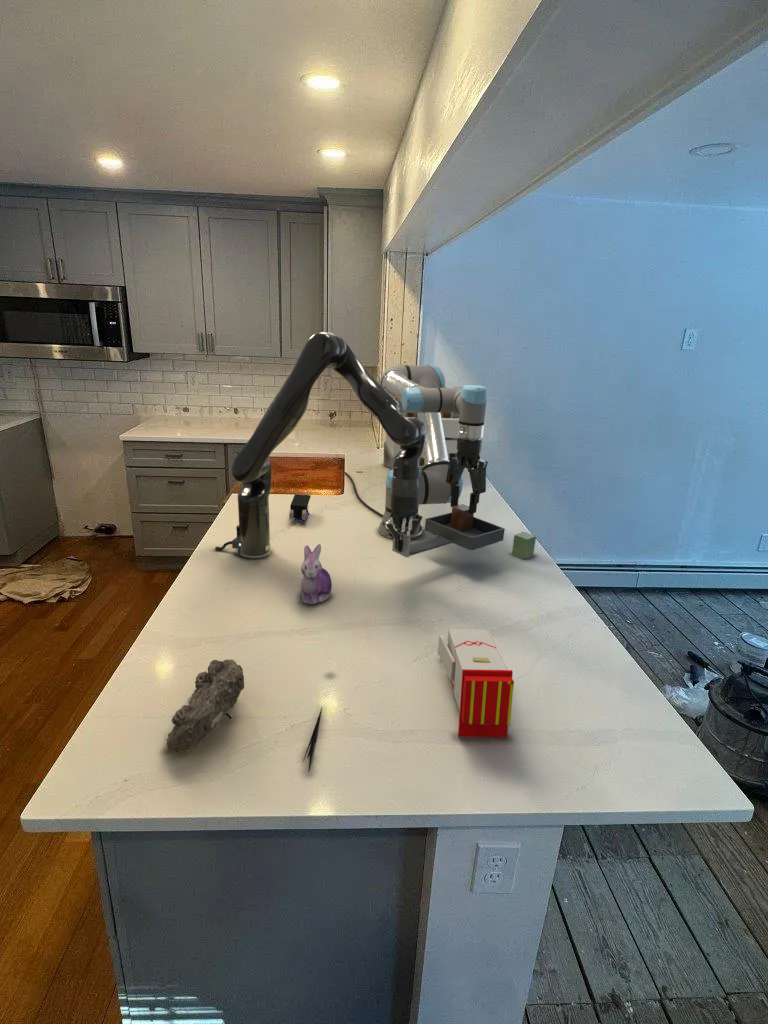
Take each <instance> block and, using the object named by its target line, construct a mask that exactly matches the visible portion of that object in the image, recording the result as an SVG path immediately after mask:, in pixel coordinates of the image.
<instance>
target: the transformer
mask: <svg viewBox="0 0 768 1024" xmlns="http://www.w3.org/2000/svg"><path fill="white" fill-rule="evenodd" d="M445 388H448V387H447V386H445ZM394 399H395V400H396V401H397V402H398V403H399V406H400V409H399V412H400V413H401V414H402V415H403V417H404V418H405V419H406V418H409V417H417V413H412V412H405V411H404V409H403V407H402V401H400V400H399V399H397V398H394ZM440 414H441V420H442V425H443V431H444V437H445V443H446V449H447V455H448V460H449V454H450V453H454V452H456V453H457V451H458V450H457V439H458V438H459V436H458V427H459V415H460V414H459V413H440ZM399 450H400V446H398V445H397V444H395V443H394V442H393V441H392V440H391V439H390V438H389V436H388V435H387V433H386V432H385V438H384V442H383V466H384V467H388V468H389V471H390V470H392V469H393V463H394V458H395V456H396V455H397V454H398V452H399ZM449 461H450V460H449ZM457 463H458V460H457ZM424 464H425V463H424V456H423V451H422V455H421V458H420V467H423V465H424ZM456 468H457V467H456Z"/></svg>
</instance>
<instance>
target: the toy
mask: <svg viewBox="0 0 768 1024" xmlns="http://www.w3.org/2000/svg"><path fill="white" fill-rule="evenodd" d="M446 640H447V643H446V641H445V639H444V636H443V635H442V634H439V637H438V646H437V656H438V657H439V659H440V661H441V663H442V666H443V668H444V670H445V672H446V674H447V677H448V679H449V681H450V684H451V687H452V690H453V693H454V697H455V701H456V705H457V708H458V711H459V714H458V715H459V716H458V730H457V731H458V732H457V737H458V738H508V731H509V726H510V725H511V717H512V707H513V697H514V696H513V695H514V684H515V680H514V679H513V673H514V671H513V670H512V669H508V667H507V665H506V662H505V661H504V659H503V658H502V655H501V653H500V651H499V649H498V647H497V643H496V639H495V637H494V635H493V634H491V632H490V631H489V629H467V628H466V629H465V628H463V629H461V628H460V629H459V628H448V630H447V639H446Z"/></svg>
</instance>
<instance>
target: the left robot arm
mask: <svg viewBox="0 0 768 1024" xmlns="http://www.w3.org/2000/svg"><path fill="white" fill-rule="evenodd" d="M326 369H332V370H333V371H335V372H336V373H338V374H339V376H341V377H343V378H344V379H345V380H346V382H348V384H349V386H350V387H351V388H352V390H353V391H354V392H355V395H356V397H357V399H358V400H359V402H360V403H361V404H362V406H364V408H365V409H366V410H367V411H368V412H369V413H370V414H371V415H372V416H373V417H374V418H375V419H376V420H378V422H379V423H380V425H381V427H382V429H383V431H384V433H385V434H386V433H387V435H388V436H389V438H390V439H391V440H392V441H393V442H394V443H395V444H397V445H398V446H400V450H399V452H398V454H397V455H396V456H395V458H394V463H393V478H392V483H391V500H390V507H391V510H392V512H391V515H390V519H389V520H388V521H387V522H386V521H384V522H383V526H384V528H385V529H386V531H387V533H388V534H389V536H390V537H391V538H393V539H395V549H396V551H398V552H402V549H403V534H405V535H407V536H410V535H414V533H415V531H416V529H417V527H418V525H419V524H420V522H422V521H423V516H422V515H420V514H419V513H418V514H419V515H418V514H416V509H417V508H418V495H419V468H420V469H421V466H420V458H421V455H422V451H423V447H424V443H425V438H426V429H425V425H424V423H423V421H422V420H421V419H419V418H417V417H409V418H406V419H405V418H404V417H403V415H402V414H401V413H400V412H399V409H400V406H399V403H398V402H397V401H396V400H395V399H394V398H393V397H392V396H391V395H390V394H389V393H388V392H387V391H386V390H385V389H384V388H383V387H382V386H381V385H380V382H378V380H376V379H375V377H374V376H373V375H372V374H371V373H370V372H369V371H368V370H367V369H366V367H365V366H364V365H363V363H362V362H361V361H360V360H359V358H358V357H357V356H356V354H355V353H354V352H353V350H352V349H351V347H350V346H349V345H348V343H347V342H346V340H345V339H344V338H343V337H342V336H341V335H339V334H336V333H333V332H328V331H327V332H326V331H317V332H315V333H313V334H312V335H310V337H309V338H308V339H307V341H306V342H305V344H304V346H303V348H302V350H301V352H300V354H299V356H298V359H297V361H296V362H295V364H294V367H293V369H292V370H291V372H290V374H289V375H288V376H287V378H286V380H285V381H284V383H283V384H282V386H281V388H279V391H278V393H276V395H275V396H274V398H273V399H272V401H271V403H270V404H269V406H268V408H267V410H266V411H265V413H264V414H263V416H262V418H261V419H260V421H259V423H258V425H257V426H256V428H255V430H254V431H253V434H252V435H251V437H250V438H249V440H248V441H247V442H246V443H245V444H244V446H243V447H242V448H241V449H240V451H238V453H237V454H236V455H235V457H234V458H233V460H232V462H231V474H232V477H233V478H234V480H236V481H237V483H240V484H242V485H241V487H240V490H239V491H238V492H237V511H238V513H237V514H238V524H237V525H236V526H235V527H236V529H235V530H236V537H235V538H233V539H232V540H230V541H227V542H224V543H223V545H222V546H221V547H220V546H215V550H216V551H223V550H225V548H226V547H227V546H229V545H231V547H232V549H236V550H237V555H239V556H241V557H243V558H246V559H251V560H253V559H255V560H256V559H262V558H265V557H268V556H269V555H270V554H271V547H272V546H271V545H272V544H271V534H270V533H271V532H270V531H271V529H270V498H269V497H270V494H271V490H272V463H271V460H270V459H271V458H270V455H272V453H273V451H274V450H275V449H276V448H277V447H279V445H280V444H281V443H282V442H283V441H285V440H286V439H287V437H288V436H289V435H290V434H291V433H292V432H293V431H294V430H295V429H296V427H297V425H299V423H300V421H301V420H302V419H303V417H304V415H305V414H306V412H307V409H308V405H309V400H310V396H311V392H312V389H313V387H314V385H315V384H316V381H318V379H319V377H321V375H322V373H323V372H324V371H325V370H326ZM418 509H419V508H418ZM393 524H394V525H393ZM412 526H413V528H412ZM411 529H412V530H411ZM405 530H406V531H405ZM398 533H399V535H398ZM393 539H392V540H393Z"/></svg>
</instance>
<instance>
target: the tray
mask: <svg viewBox="0 0 768 1024" xmlns="http://www.w3.org/2000/svg"><path fill="white" fill-rule="evenodd" d="M451 513H452V511H450V512H448V513H443V514H440V515H435V516H431V517H428V518H427V517H426V518H425V521H424V532H426V533H429V534H431V535H433V536H435V537H432V538H429V539H426V540H422V541H419V542H415V543H411V540H412V539H411V537H410V536H407V535H405V534H403V549H402V552H398V551H396V549H395V539H392V550H391V551H393V552H395V553H396V554H398V555H401V557H405V558H410V556H414V555H418V554H420V553H424V552H426V551H430V550H435V549H437V548H441V547H444V546H448V545H451V544H454V545H457V546H458V547H460V548H463V549H465V550H467V551H469V552H472V551H475V550H478V549H482V548H484V547H487V546H490V545H494V544H498V543H500V542H503V541H504V537H505V530H506V529H505V527H502V526H500V525H497V524H494V523H491V522H489V521H486V520H484V519H482V518H478V517H476V516H474V517H473V525H472V529H470V530H466V531H463V532H461V531H458V530H456V529H454V528H451V527H450V523H451ZM398 535H399V533H398Z"/></svg>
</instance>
